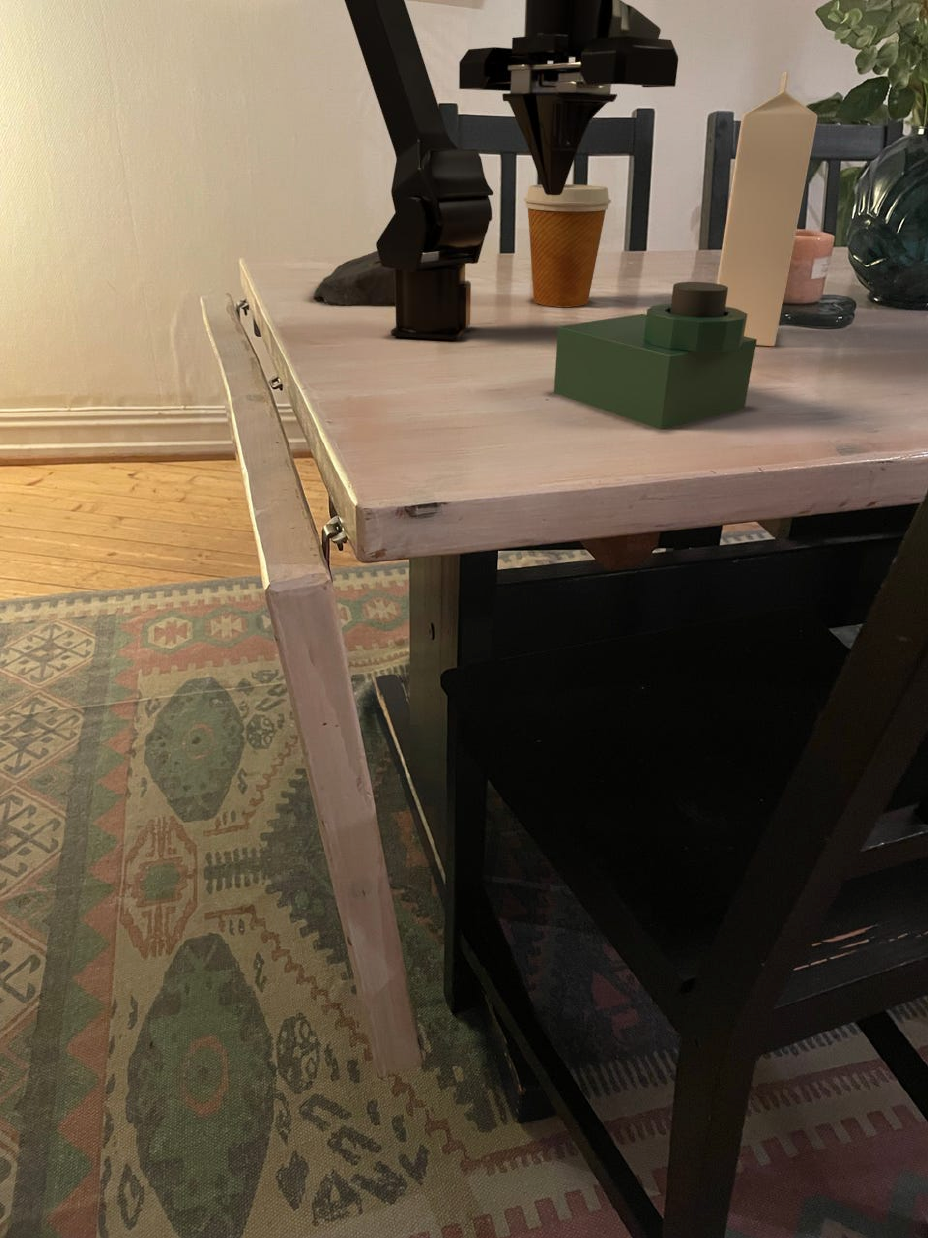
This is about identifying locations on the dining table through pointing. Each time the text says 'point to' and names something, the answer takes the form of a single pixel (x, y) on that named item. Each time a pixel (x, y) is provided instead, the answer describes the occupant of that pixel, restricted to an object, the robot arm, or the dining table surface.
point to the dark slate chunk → (359, 283)
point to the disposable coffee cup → (565, 242)
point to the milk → (765, 210)
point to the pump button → (698, 299)
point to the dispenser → (657, 365)
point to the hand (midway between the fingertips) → (553, 194)
